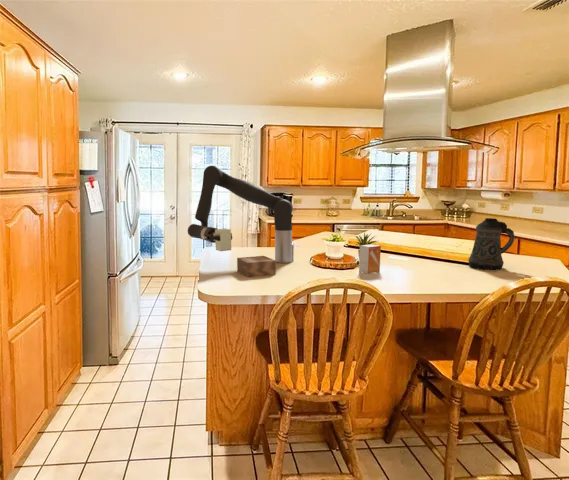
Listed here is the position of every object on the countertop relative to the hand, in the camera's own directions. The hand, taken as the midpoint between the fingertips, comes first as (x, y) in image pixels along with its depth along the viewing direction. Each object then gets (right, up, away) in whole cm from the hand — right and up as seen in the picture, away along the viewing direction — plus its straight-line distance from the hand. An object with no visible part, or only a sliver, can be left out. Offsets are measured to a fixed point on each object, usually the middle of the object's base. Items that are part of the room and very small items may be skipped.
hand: (225, 238), depth 216 cm
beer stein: (+132, -15, +15) cm, 134 cm away
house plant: (+71, -13, +27) cm, 77 cm away
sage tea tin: (-1, -6, +3) cm, 7 cm away
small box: (+69, -17, +3) cm, 71 cm away
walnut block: (+15, -17, 0) cm, 22 cm away
